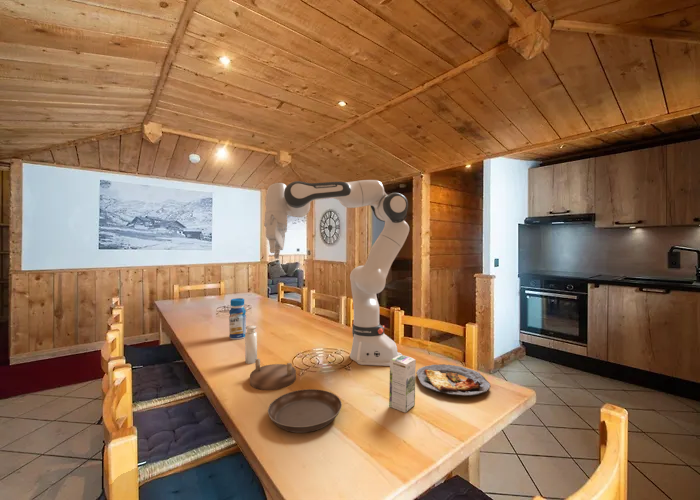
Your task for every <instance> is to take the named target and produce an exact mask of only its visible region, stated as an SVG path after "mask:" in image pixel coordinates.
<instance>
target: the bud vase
mask: <svg viewBox="0 0 700 500" xmlns="http://www.w3.org/2000/svg"><path fill="white" fill-rule="evenodd" d="M256 328H257V326H256V325H253V324H252V325H246V333H245V338H244V340H245V341H244V345H245V346H244V351H245V353H244V354H245V355H244V356H245V364H247V365H252V364H255V360H256V359H258V333H257V331H256Z"/></svg>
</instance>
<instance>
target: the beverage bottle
mask: <svg viewBox="0 0 700 500" xmlns="http://www.w3.org/2000/svg"><path fill="white" fill-rule="evenodd" d="M244 306H245V298H243V297H242V298H241V297H237V298H231V299H230V309H229V311H228V313H229V316H228V320H229V321H228V322H229V323H228V326H229V335H228V336H229V337H228V338H229V339H230V340H234V341H235V340H242V339H245V333H246V332H247V329H246V327H247V315H246V313H247V311H246V308H245V307H244Z"/></svg>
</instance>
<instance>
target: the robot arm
mask: <svg viewBox="0 0 700 500" xmlns="http://www.w3.org/2000/svg"><path fill="white" fill-rule="evenodd" d="M326 199H327V200H328V199H335V200H337V201H338V202H339V203H340V204H341V205H342V206H343V207H344V208H347V209H348V208H349V209H350V208H351V209H354V208H361V207H367V206H370V208H371V210H372V212H373V214H374V217H375V218H376V219H377V220H378V221H380V222H384V226H383V229H382V231H381V232H380V234H379V235H378V237H377V239H376V240H375V242H374V243H373V244H372V246H371V248H370V249H369V253H368V256H367V258H366V262H365V264H364V265H358V266H356V267H354V268H353V269H352V270H351V271H350V272H349V273H350V274H349V279H350V280H349V281H350V288H351V297H352V303H353V305H352V306H353V324H352V328H351V329H352V330H351V334H352V337H353V338H352V344H351V350H350V354H349V357H350V359H351V360H352V361H354V362H356V363H357V364H358V365H362V366H363V365H364V366H381V367H382V366H384V367H390V360H391V359H393V358H395V357H397V356H399V355H403V354H402V353H401V352H398V346H397V343H396V342H395V340H393V339H392V338H391V337H390V336H388V335H387V334H385V325H383V324H382V325H381V323H380V304H379V300H378V298H377V294H380V293H381V292H382V291H383V290H384V289H385V287H386V283H387V282H386V279H387V277H388V274H389V272H390V270H391V266H392V265H393V262H394V261H395V259H396V257H397V256H398V254H399V252H400V251H401V249H402V248H403V246H404V245H405V242H406V240H407V237H408V236H409V232H410V226H409V224H408V222H406V219H407V216H408V215H407V214H408V208H409V201H408V199H407V197H406V196H405V195H403V193H399V192H392V193H389V194H388V193H386V191H385V187H384V185H383V183H382V182H381V181H379V180H378V179H362V180H361V179H360V180H355V181H354V180H353V181H348V182H347V181H327V182H326V181H325V182H311V183H310V182H307V181H306V182H305V181H301V180H297V181H296V180H295V181H292V182H290V183H289V184H287V185H286V184H285V183H283V182H274V183H272V184H270V185H269V186H268V187H267V190H266V195H265V202H264V203H265V212H264V227H265V237H266V238H267V240H268V243H269V253H271V254H274V255H273V258H274V259H275V260H278V259H280V254H281V251H283V250H284V247H285V241H286V239H285V238H286V233H287V232H288V231H287V227H288V216H289V217H294V218H303V217H305V216H307V215H308V214H309V213H310V211H311V202H313V201H315V200H316V201H317V200H326Z"/></svg>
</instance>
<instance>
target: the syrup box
mask: <svg viewBox="0 0 700 500" xmlns="http://www.w3.org/2000/svg"><path fill="white" fill-rule="evenodd" d="M416 361H417V360H416V359H415V358H413V357H411V356H407V355H404V354H402V355H399V356H397V357H395V358H393V359H391V360H390V366H389V398H388V399H389V402H388V406H389V407H390V408H391V409H395V410H396V411H399V412H403V413H405V414H406V413H408V411H410V410H411V409H412V408H413V407H414V406H415V404H416V363H417V362H416Z"/></svg>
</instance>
